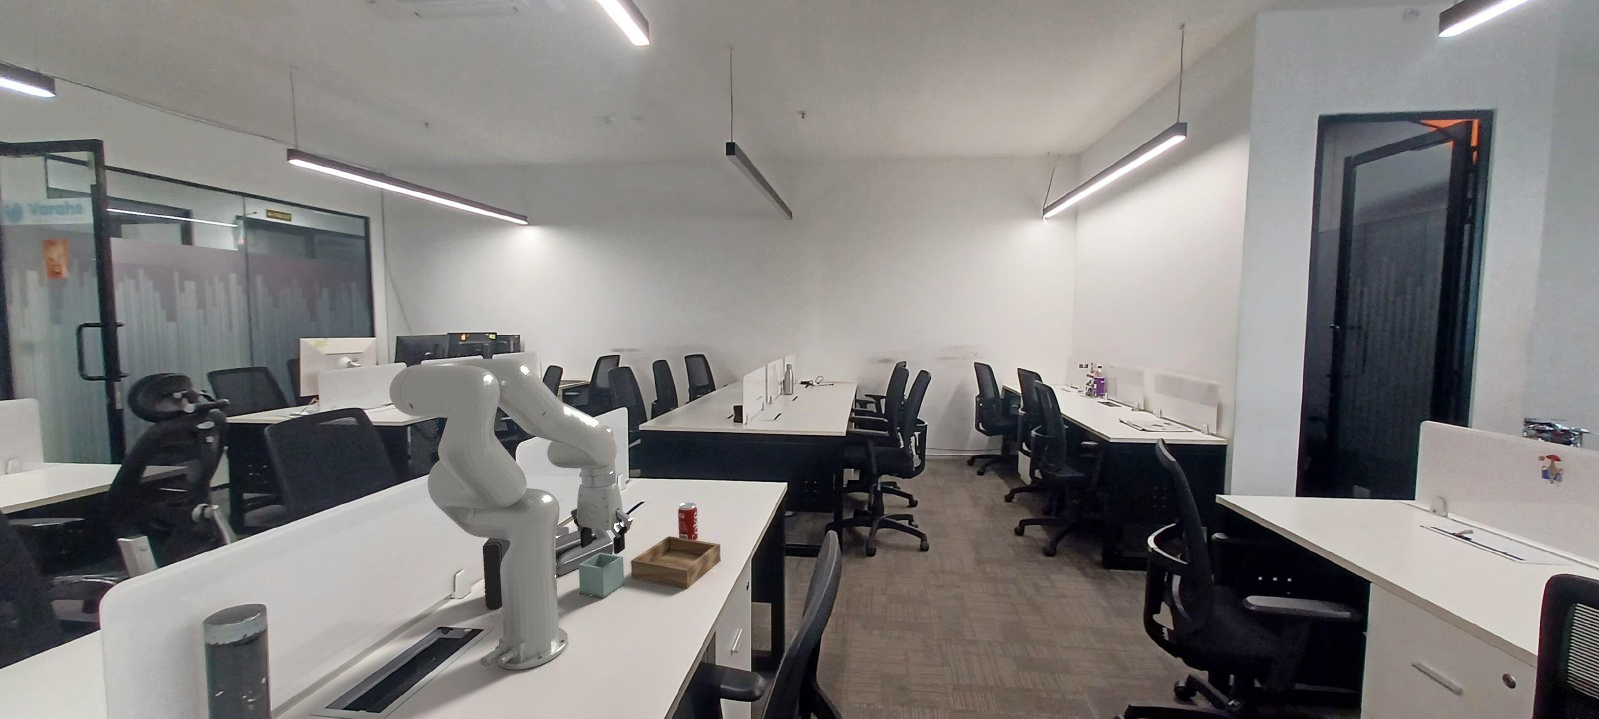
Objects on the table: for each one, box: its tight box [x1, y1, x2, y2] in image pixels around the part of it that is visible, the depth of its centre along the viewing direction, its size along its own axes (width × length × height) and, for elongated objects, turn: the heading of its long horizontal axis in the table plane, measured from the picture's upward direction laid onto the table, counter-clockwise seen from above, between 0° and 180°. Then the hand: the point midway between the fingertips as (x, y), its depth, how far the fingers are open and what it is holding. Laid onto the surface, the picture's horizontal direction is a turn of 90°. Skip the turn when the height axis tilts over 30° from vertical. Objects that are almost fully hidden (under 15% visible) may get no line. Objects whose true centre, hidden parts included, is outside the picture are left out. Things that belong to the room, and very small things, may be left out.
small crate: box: [578, 553, 625, 599], centre depth 129 cm, size 7×7×7 cm
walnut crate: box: [630, 535, 721, 590], centre depth 139 cm, size 16×16×4 cm
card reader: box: [482, 538, 510, 610], centre depth 124 cm, size 9×4×15 cm, turn 14°
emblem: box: [555, 526, 614, 576], centre depth 148 cm, size 28×5×28 cm
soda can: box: [677, 502, 699, 541], centre depth 152 cm, size 5×5×12 cm
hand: (603, 548), depth 129 cm, fingers open, 9 cm apart
